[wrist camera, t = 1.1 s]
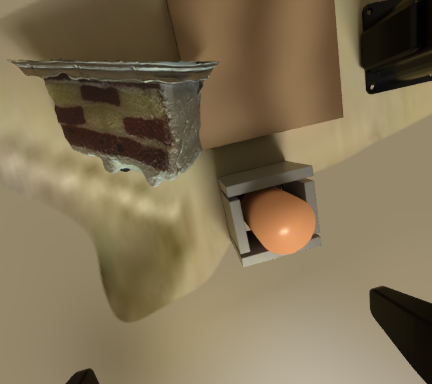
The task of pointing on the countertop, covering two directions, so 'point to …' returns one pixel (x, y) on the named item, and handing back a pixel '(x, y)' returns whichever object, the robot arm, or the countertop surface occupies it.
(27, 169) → the countertop surface
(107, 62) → the chocolate cake
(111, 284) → the countertop surface
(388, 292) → the robot arm
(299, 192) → the housing
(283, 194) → the brown egg
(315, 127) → the countertop surface
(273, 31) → the serving board
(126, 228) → the countertop surface
